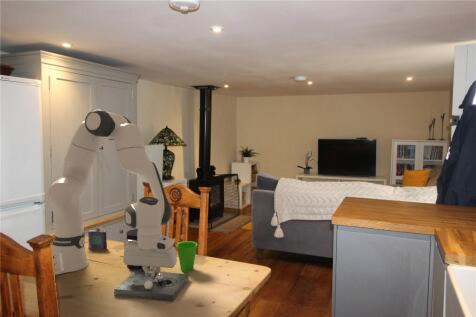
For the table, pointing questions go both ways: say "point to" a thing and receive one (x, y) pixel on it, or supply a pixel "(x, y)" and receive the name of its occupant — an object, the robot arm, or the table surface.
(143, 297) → the plate
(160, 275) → the steel ball
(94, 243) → the flask
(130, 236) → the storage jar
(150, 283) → the plastic ball
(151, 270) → the wood ball
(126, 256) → the robot arm
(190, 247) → the cup
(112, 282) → the table surface
